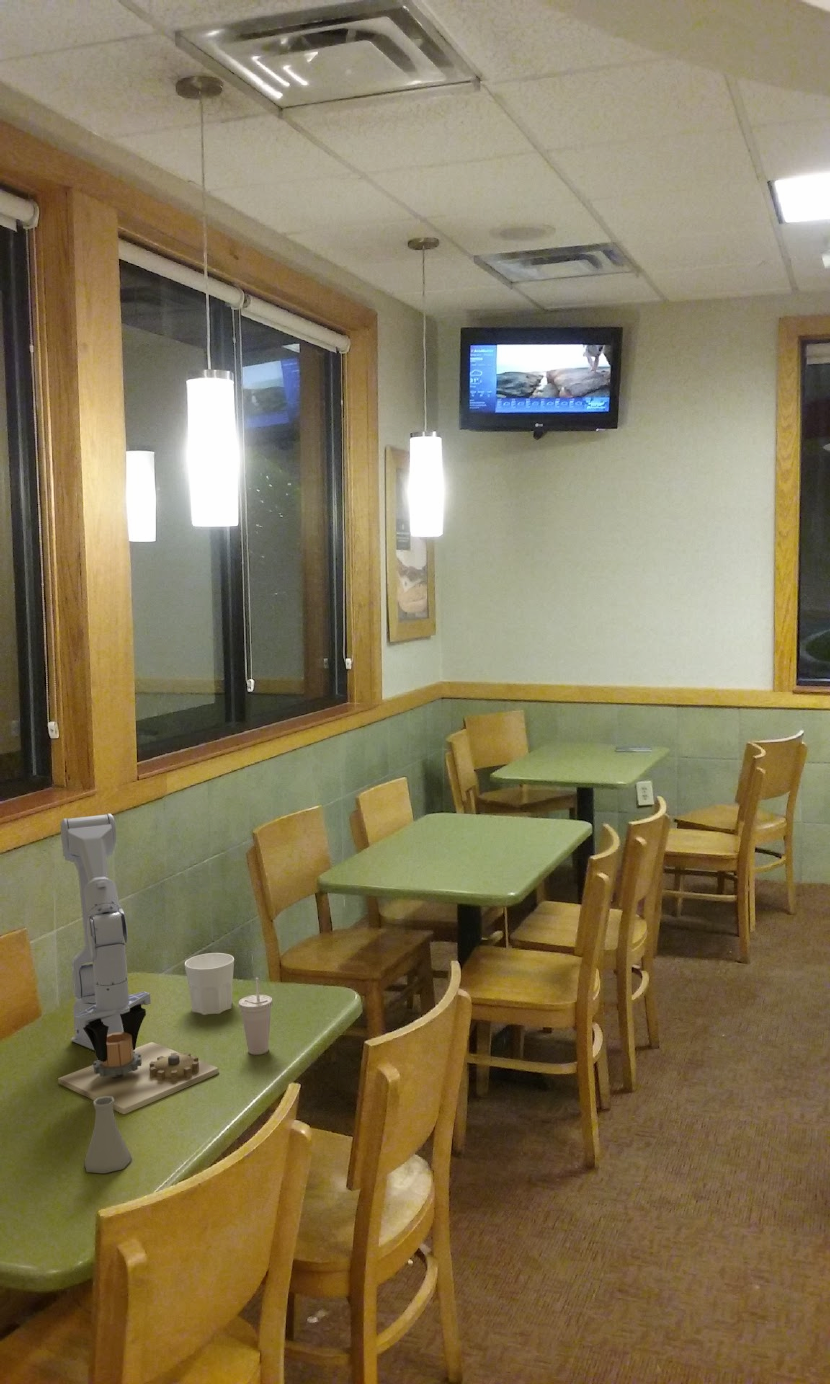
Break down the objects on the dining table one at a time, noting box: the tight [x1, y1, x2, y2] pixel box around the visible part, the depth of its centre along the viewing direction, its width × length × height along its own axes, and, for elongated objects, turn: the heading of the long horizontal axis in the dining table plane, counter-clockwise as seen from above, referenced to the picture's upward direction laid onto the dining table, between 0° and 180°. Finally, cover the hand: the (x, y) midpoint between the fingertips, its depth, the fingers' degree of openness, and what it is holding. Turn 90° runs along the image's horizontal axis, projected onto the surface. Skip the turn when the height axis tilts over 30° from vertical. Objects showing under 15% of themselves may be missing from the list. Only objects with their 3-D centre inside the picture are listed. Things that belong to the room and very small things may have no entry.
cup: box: [184, 952, 235, 1016], centre depth 244 cm, size 10×10×10 cm
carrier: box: [57, 1041, 220, 1115], centre depth 211 cm, size 20×20×4 cm
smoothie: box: [238, 977, 274, 1056], centre depth 221 cm, size 6×6×14 cm
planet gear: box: [92, 1031, 142, 1077], centre depth 210 cm, size 8×8×5 cm
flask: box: [83, 1096, 133, 1174], centre depth 181 cm, size 7×7×10 cm
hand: (116, 1054), depth 210 cm, fingers closed on planet gear, 5 cm apart
